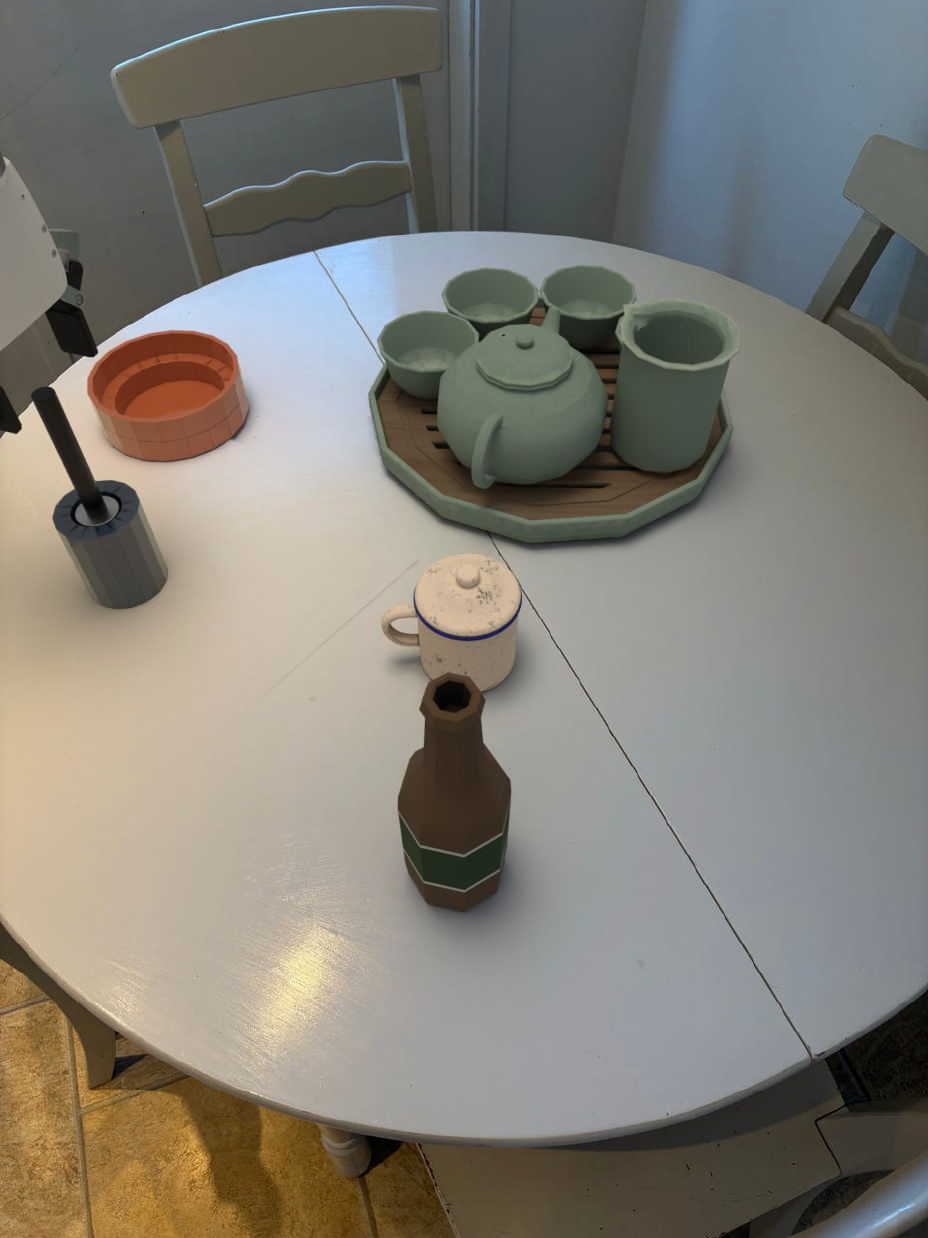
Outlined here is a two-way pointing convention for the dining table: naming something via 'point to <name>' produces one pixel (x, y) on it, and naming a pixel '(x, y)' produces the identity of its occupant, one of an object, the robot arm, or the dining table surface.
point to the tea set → (554, 403)
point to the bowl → (168, 395)
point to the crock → (113, 549)
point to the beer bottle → (454, 800)
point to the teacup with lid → (463, 619)
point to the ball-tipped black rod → (74, 461)
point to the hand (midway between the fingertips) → (43, 388)
